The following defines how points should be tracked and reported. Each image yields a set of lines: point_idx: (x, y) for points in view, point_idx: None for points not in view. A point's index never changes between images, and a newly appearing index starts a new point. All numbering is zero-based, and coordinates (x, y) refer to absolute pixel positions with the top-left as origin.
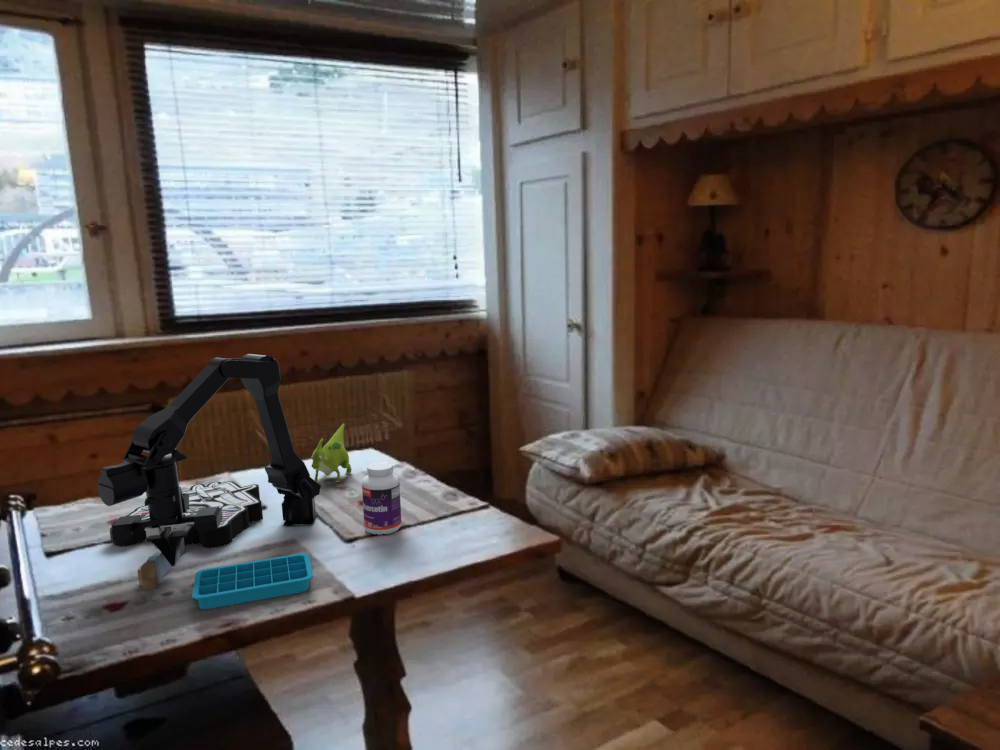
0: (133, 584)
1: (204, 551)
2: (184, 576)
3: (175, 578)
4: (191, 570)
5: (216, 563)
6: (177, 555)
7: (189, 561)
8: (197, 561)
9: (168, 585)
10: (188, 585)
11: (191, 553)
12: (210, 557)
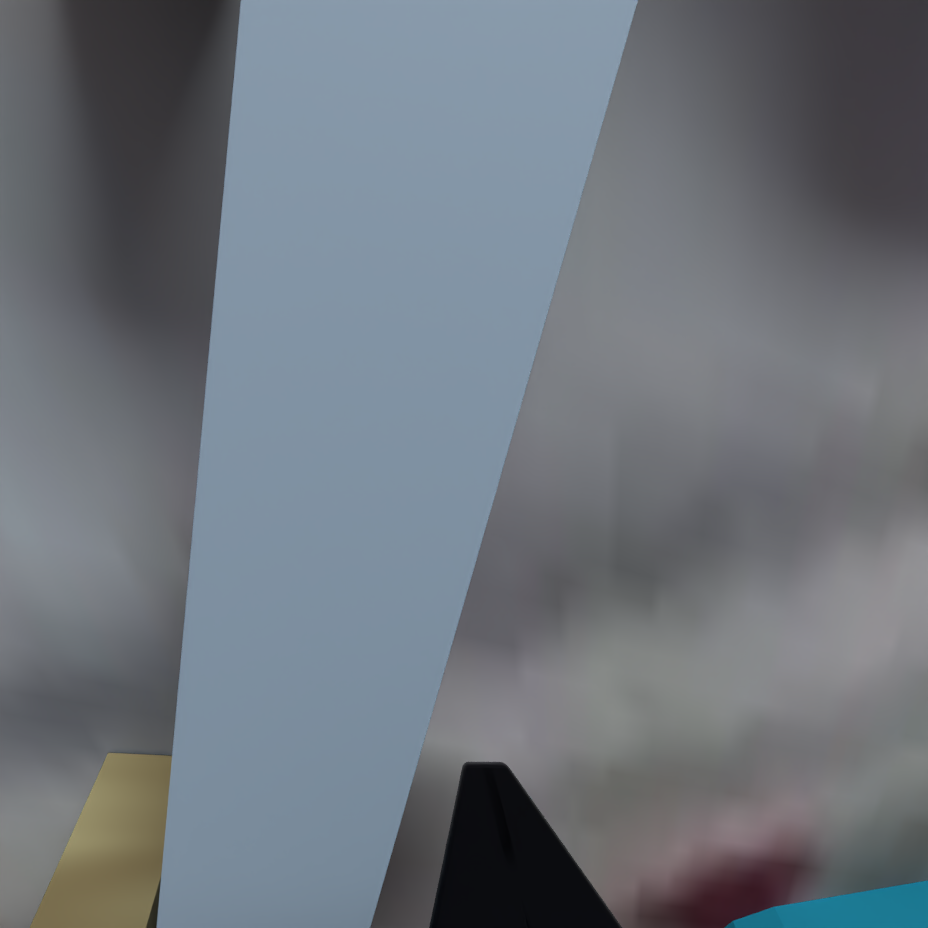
0: (14, 839)
1: (901, 9)
2: (569, 770)
3: None
4: (644, 658)
5: (924, 555)
6: (576, 878)
7: (632, 383)
8: (735, 422)
9: (428, 898)
10: None
11: (681, 4)
12: (915, 340)
